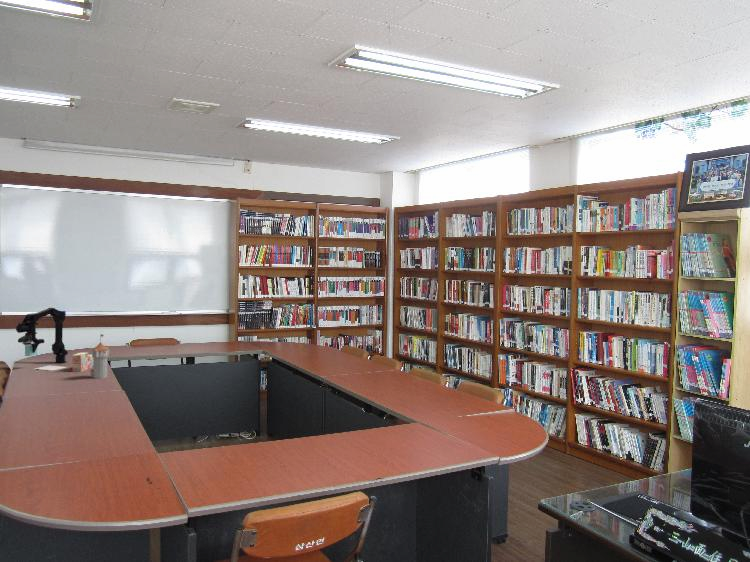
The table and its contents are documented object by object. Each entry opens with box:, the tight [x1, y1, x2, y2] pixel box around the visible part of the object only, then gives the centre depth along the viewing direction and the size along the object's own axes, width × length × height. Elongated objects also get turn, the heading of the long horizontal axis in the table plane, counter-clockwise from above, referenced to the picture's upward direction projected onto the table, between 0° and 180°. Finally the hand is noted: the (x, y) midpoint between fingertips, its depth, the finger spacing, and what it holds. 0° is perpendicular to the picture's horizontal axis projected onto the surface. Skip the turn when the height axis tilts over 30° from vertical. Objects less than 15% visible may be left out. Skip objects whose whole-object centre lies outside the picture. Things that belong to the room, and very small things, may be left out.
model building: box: [89, 334, 110, 379], centre depth 409 cm, size 14×12×30 cm
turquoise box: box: [24, 343, 38, 357], centre depth 435 cm, size 7×4×8 cm, turn 165°
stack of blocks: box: [71, 352, 94, 373], centre depth 437 cm, size 21×6×12 cm, turn 3°
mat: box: [34, 365, 67, 372], centre depth 437 cm, size 14×16×1 cm
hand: (31, 352), depth 435 cm, fingers closed on turquoise box, 4 cm apart
